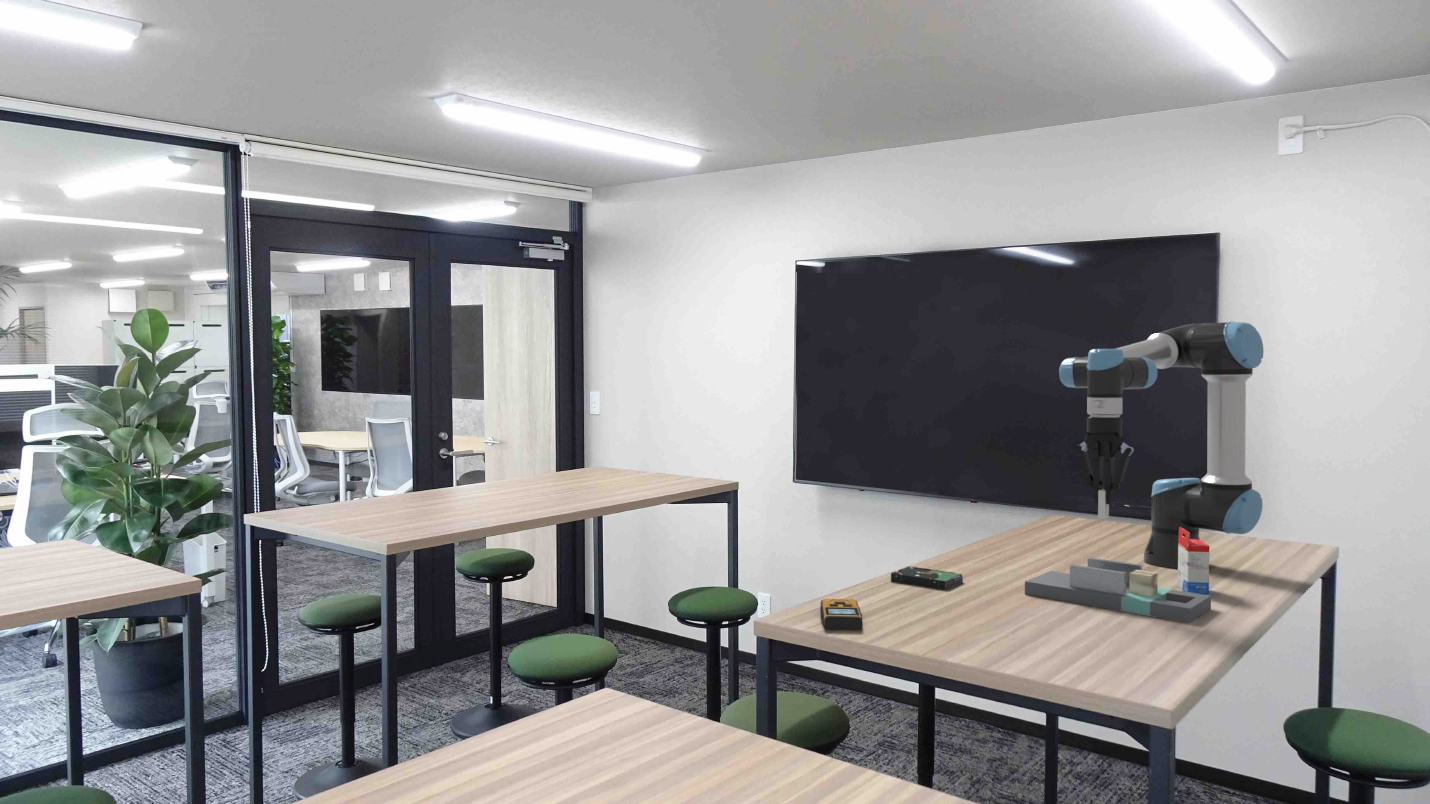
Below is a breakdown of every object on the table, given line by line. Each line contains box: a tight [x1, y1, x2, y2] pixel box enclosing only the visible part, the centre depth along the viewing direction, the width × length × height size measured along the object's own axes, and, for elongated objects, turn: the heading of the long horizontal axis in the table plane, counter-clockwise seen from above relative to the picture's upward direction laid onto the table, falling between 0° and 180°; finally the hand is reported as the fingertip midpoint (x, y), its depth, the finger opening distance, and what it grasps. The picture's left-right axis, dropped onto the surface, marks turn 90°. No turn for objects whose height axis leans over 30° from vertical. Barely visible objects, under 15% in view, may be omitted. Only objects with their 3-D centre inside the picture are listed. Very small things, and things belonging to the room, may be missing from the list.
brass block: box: [1129, 570, 1159, 596], centre depth 207 cm, size 4×4×4 cm
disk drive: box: [890, 566, 964, 591], centre depth 231 cm, size 10×3×15 cm
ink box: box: [1177, 527, 1210, 595], centre depth 221 cm, size 8×5×15 cm, turn 168°
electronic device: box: [819, 598, 863, 631], centre depth 196 cm, size 8×16×3 cm, turn 176°
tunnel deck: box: [1024, 557, 1212, 624], centre depth 211 cm, size 15×36×8 cm, turn 47°
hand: (1103, 517), depth 214 cm, fingers closed
